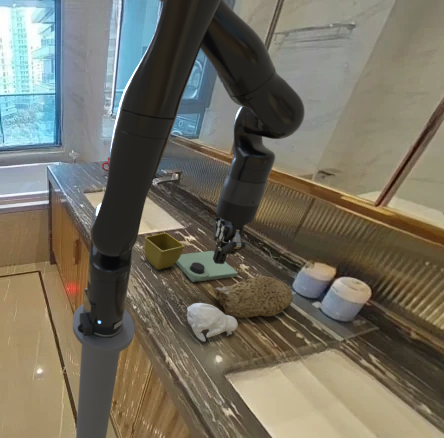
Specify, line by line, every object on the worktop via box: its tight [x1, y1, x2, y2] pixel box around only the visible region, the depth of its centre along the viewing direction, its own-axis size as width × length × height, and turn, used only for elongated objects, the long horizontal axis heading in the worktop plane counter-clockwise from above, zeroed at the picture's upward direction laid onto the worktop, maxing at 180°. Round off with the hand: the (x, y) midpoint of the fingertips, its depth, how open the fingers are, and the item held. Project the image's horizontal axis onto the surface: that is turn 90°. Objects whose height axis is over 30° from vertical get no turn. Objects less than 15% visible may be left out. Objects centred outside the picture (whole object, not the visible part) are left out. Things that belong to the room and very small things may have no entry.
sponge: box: [214, 275, 294, 319], centre depth 76 cm, size 13×8×20 cm
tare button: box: [190, 262, 205, 274], centre depth 86 cm, size 4×4×2 cm
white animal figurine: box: [186, 302, 239, 342], centre depth 68 cm, size 6×8×12 cm
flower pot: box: [144, 232, 186, 271], centre depth 91 cm, size 9×9×9 cm
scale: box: [175, 250, 239, 283], centre depth 90 cm, size 16×13×3 cm
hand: (217, 261), depth 69 cm, fingers closed
